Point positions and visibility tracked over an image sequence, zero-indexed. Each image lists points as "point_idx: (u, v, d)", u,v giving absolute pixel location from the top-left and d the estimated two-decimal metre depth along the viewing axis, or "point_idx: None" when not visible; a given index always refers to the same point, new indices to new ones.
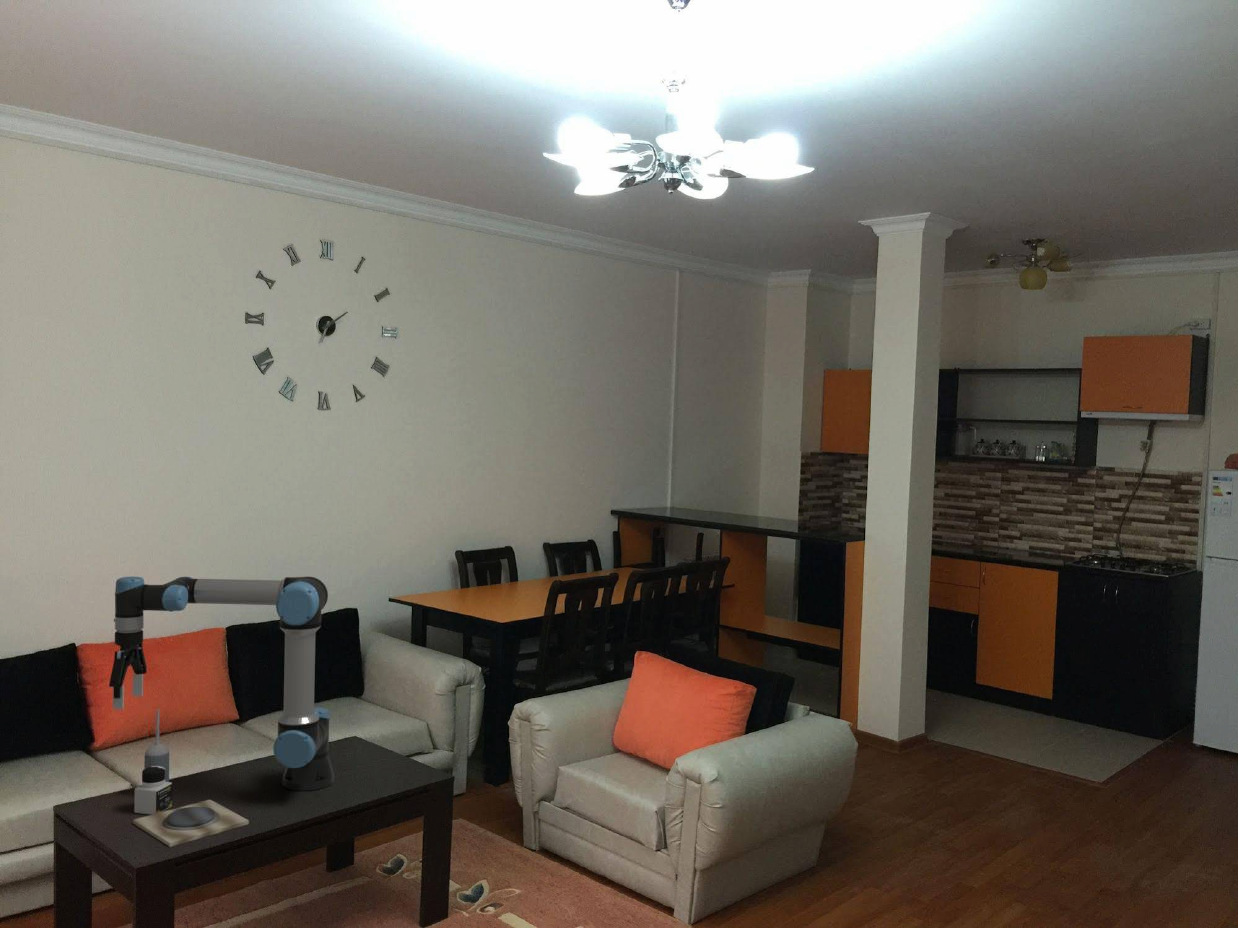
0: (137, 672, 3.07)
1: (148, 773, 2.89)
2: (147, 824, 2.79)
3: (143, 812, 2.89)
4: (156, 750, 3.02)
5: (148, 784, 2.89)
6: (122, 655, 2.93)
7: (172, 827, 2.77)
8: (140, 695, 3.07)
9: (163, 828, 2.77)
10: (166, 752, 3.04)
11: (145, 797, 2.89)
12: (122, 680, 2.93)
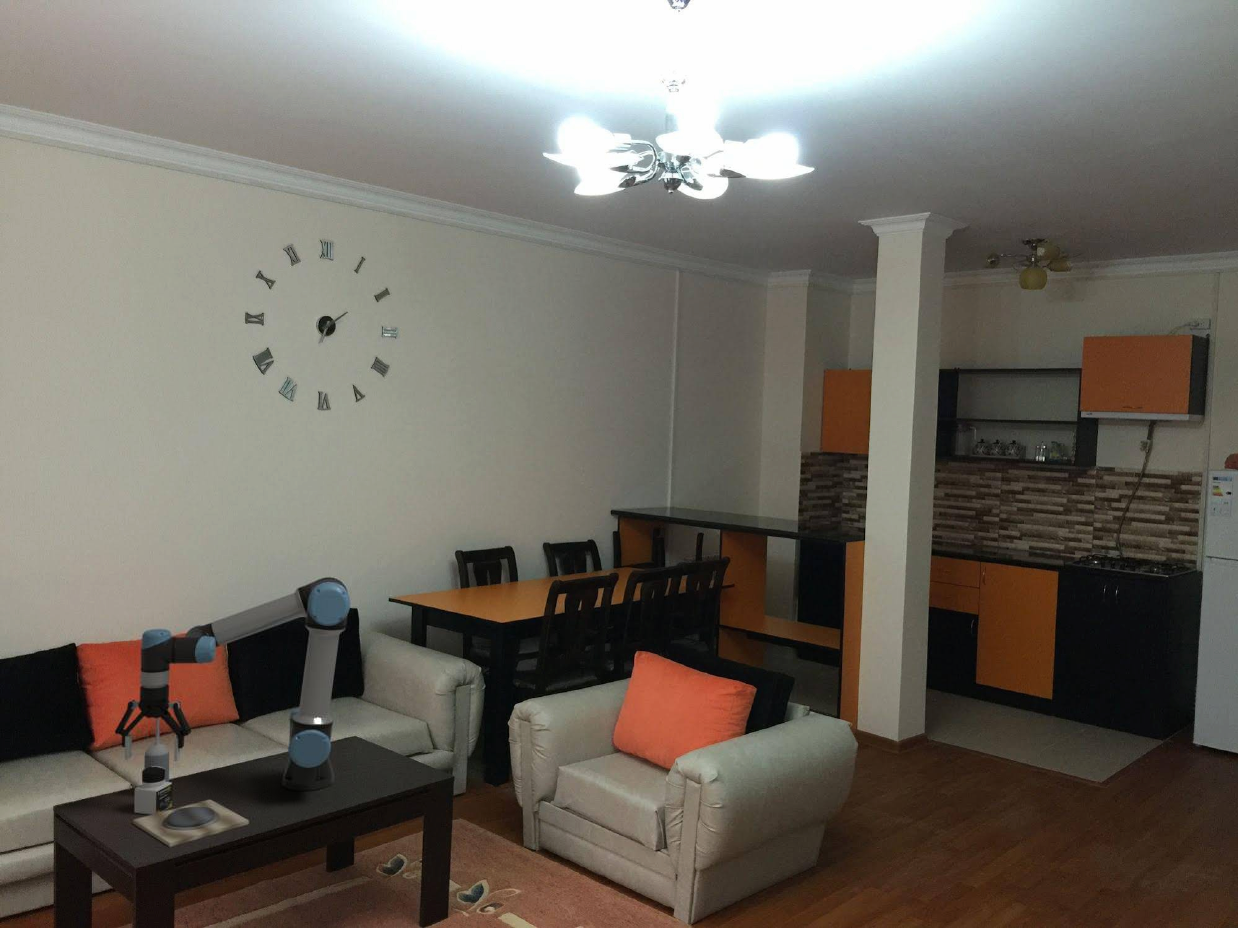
0: None
1: (148, 773, 2.89)
2: (147, 824, 2.79)
3: (143, 812, 2.89)
4: (156, 750, 3.02)
5: (148, 784, 2.89)
6: (128, 705, 2.90)
7: (172, 827, 2.77)
8: None
9: (163, 828, 2.77)
10: (166, 752, 3.04)
11: (145, 797, 2.89)
12: (126, 730, 2.90)
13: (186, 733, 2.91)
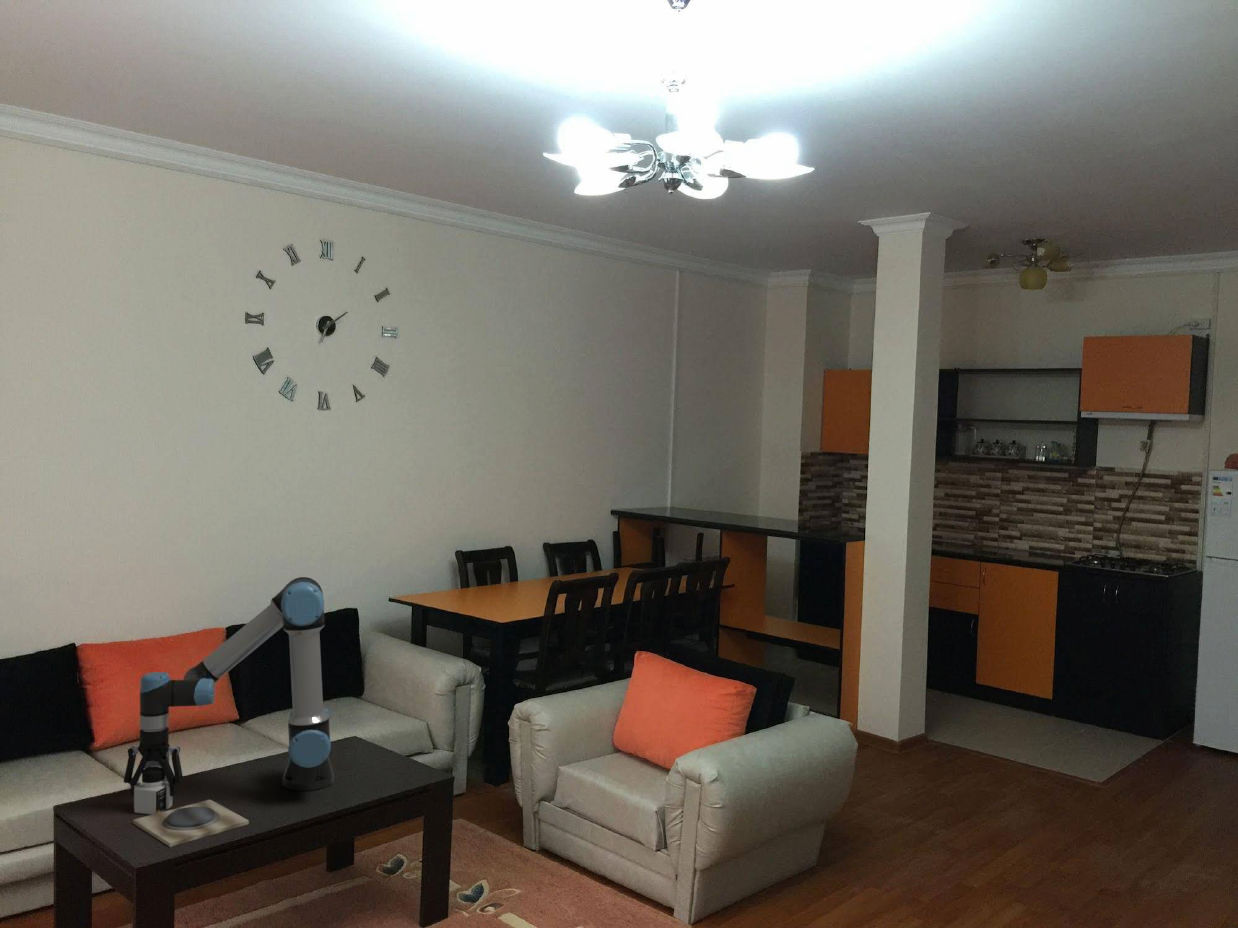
0: None
1: (148, 773, 2.89)
2: (147, 824, 2.79)
3: (143, 812, 2.89)
4: None
5: (148, 784, 2.89)
6: None
7: (172, 827, 2.77)
8: None
9: (163, 828, 2.77)
10: None
11: (145, 797, 2.89)
12: (133, 779, 2.91)
13: (178, 781, 2.91)
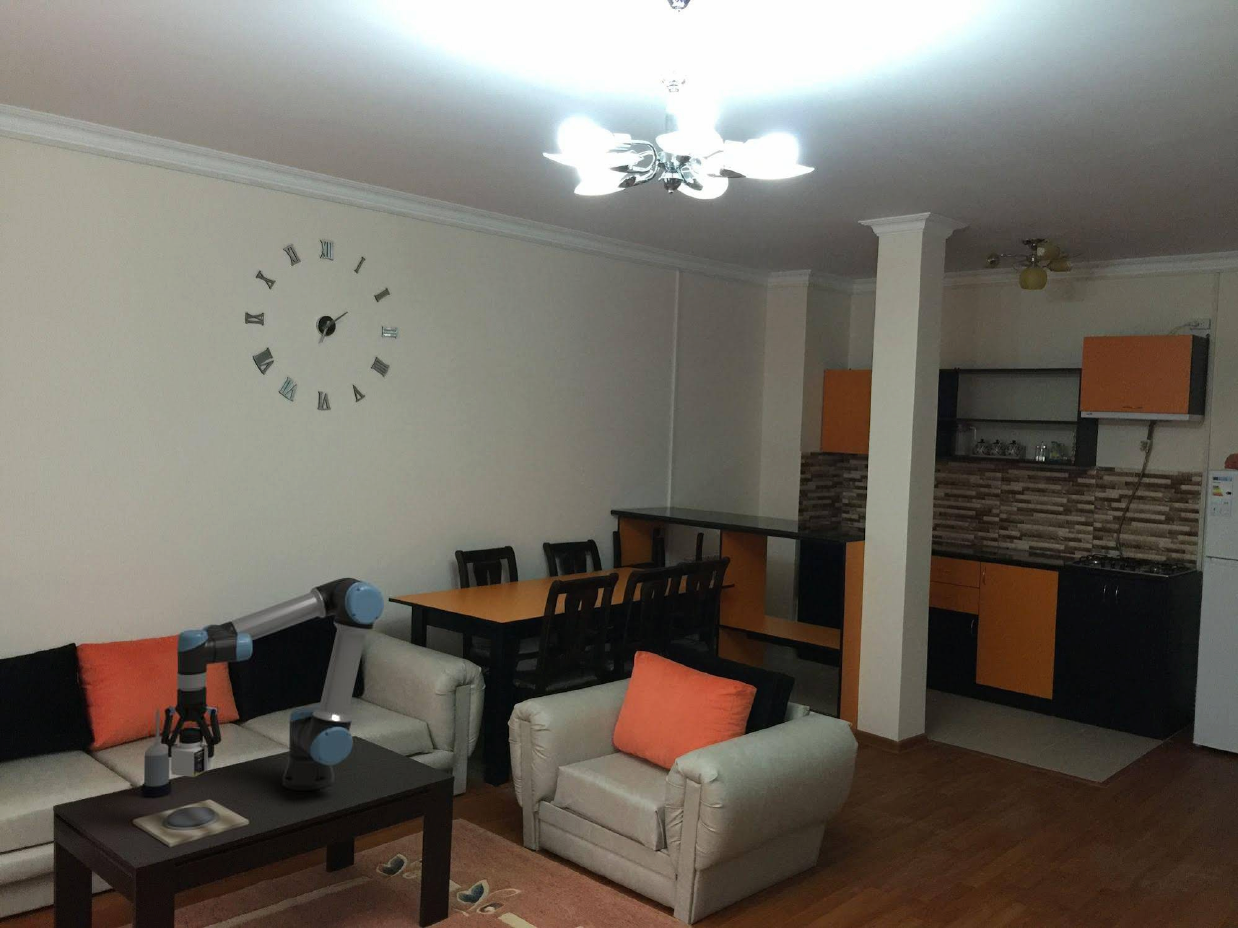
0: None
1: (185, 733, 2.80)
2: (147, 824, 2.79)
3: (181, 774, 2.80)
4: (156, 750, 3.02)
5: (185, 745, 2.80)
6: None
7: (172, 827, 2.77)
8: None
9: (163, 828, 2.77)
10: (166, 752, 3.04)
11: (182, 758, 2.79)
12: (171, 739, 2.81)
13: (216, 742, 2.82)
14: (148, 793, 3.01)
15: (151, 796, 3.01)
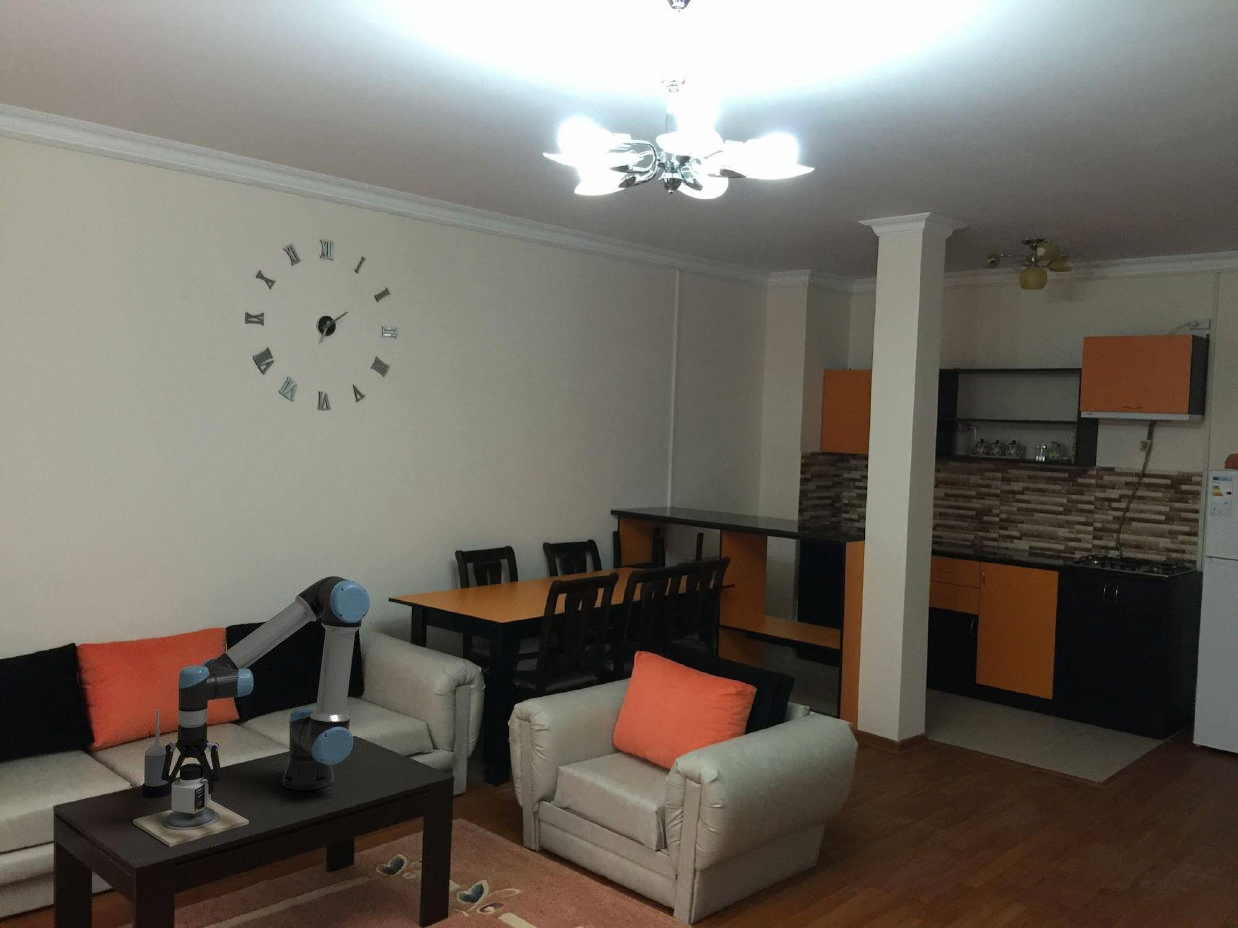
0: None
1: (186, 770, 2.80)
2: (147, 824, 2.79)
3: (181, 810, 2.80)
4: (156, 750, 3.02)
5: (186, 782, 2.80)
6: (166, 749, 2.81)
7: (172, 827, 2.77)
8: None
9: (163, 828, 2.77)
10: None
11: (183, 795, 2.79)
12: (171, 776, 2.81)
13: (217, 778, 2.82)
14: (148, 793, 3.01)
15: (151, 796, 3.01)
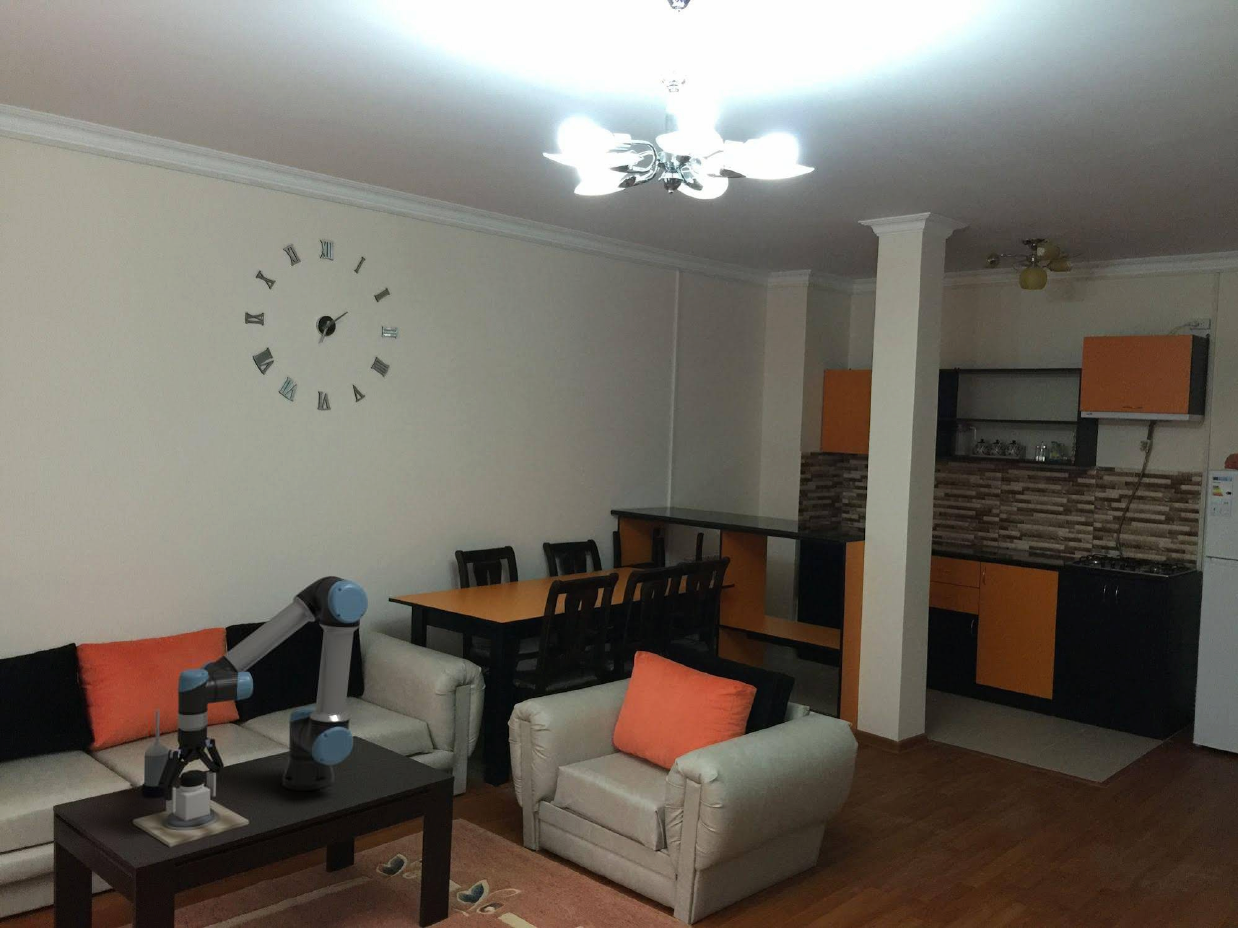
0: (211, 770, 2.89)
1: (198, 776, 2.81)
2: (147, 824, 2.79)
3: (196, 817, 2.81)
4: (156, 750, 3.02)
5: (198, 787, 2.81)
6: (174, 755, 2.76)
7: (172, 827, 2.77)
8: (212, 795, 2.88)
9: (163, 828, 2.77)
10: (166, 752, 3.04)
11: (198, 800, 2.81)
12: (173, 781, 2.76)
13: (222, 765, 2.91)
14: (148, 793, 3.01)
15: (151, 796, 3.01)
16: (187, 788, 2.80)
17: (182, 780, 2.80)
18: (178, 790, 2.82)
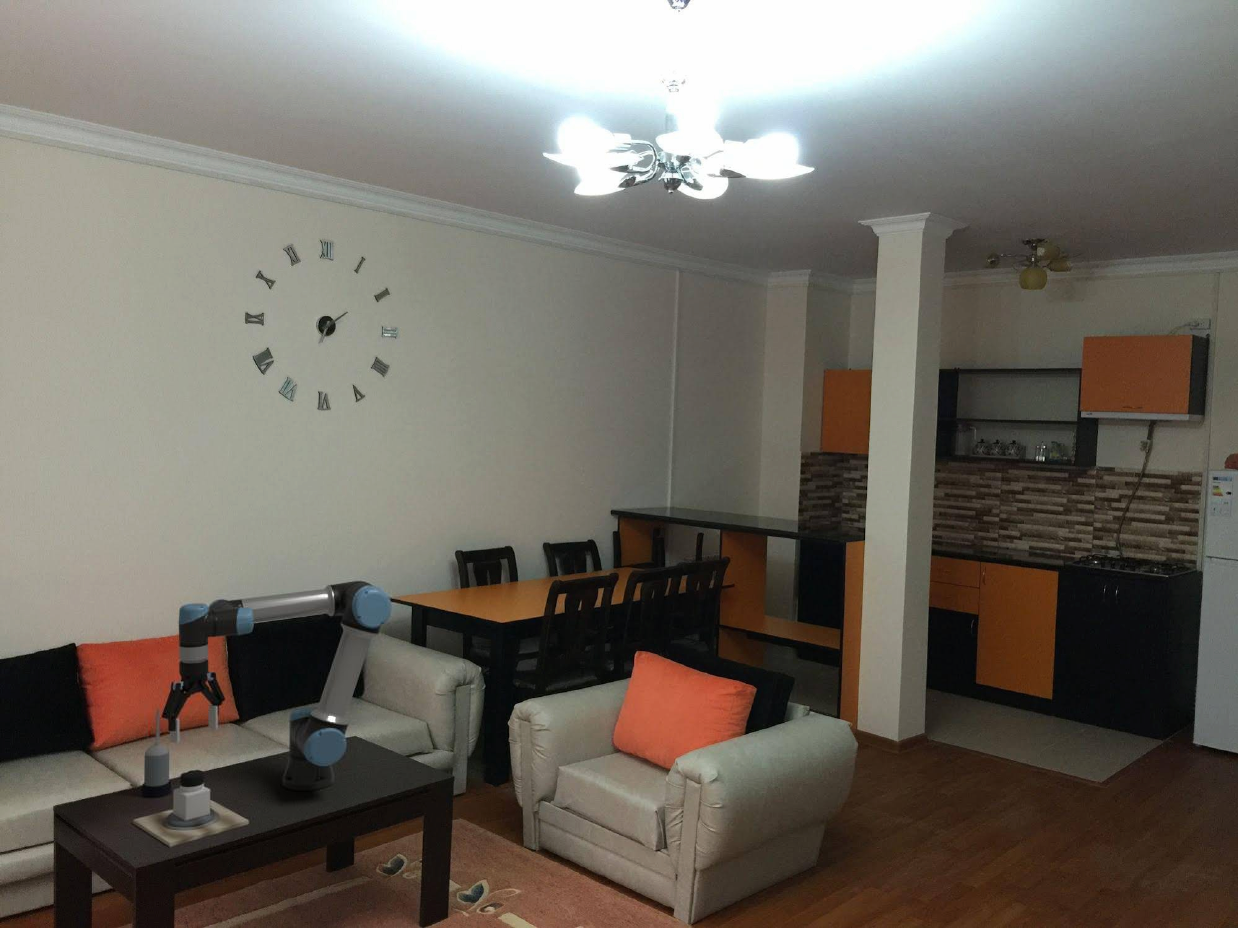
0: (213, 703, 2.93)
1: (198, 776, 2.81)
2: (147, 824, 2.79)
3: (196, 817, 2.81)
4: (156, 750, 3.02)
5: (198, 787, 2.81)
6: (177, 686, 2.80)
7: (172, 827, 2.77)
8: (214, 728, 2.92)
9: (163, 828, 2.77)
10: (166, 752, 3.04)
11: (198, 800, 2.81)
12: (177, 713, 2.80)
13: (223, 699, 2.95)
14: (148, 793, 3.01)
15: (151, 796, 3.01)
16: (187, 788, 2.80)
17: (182, 780, 2.80)
18: (178, 790, 2.82)
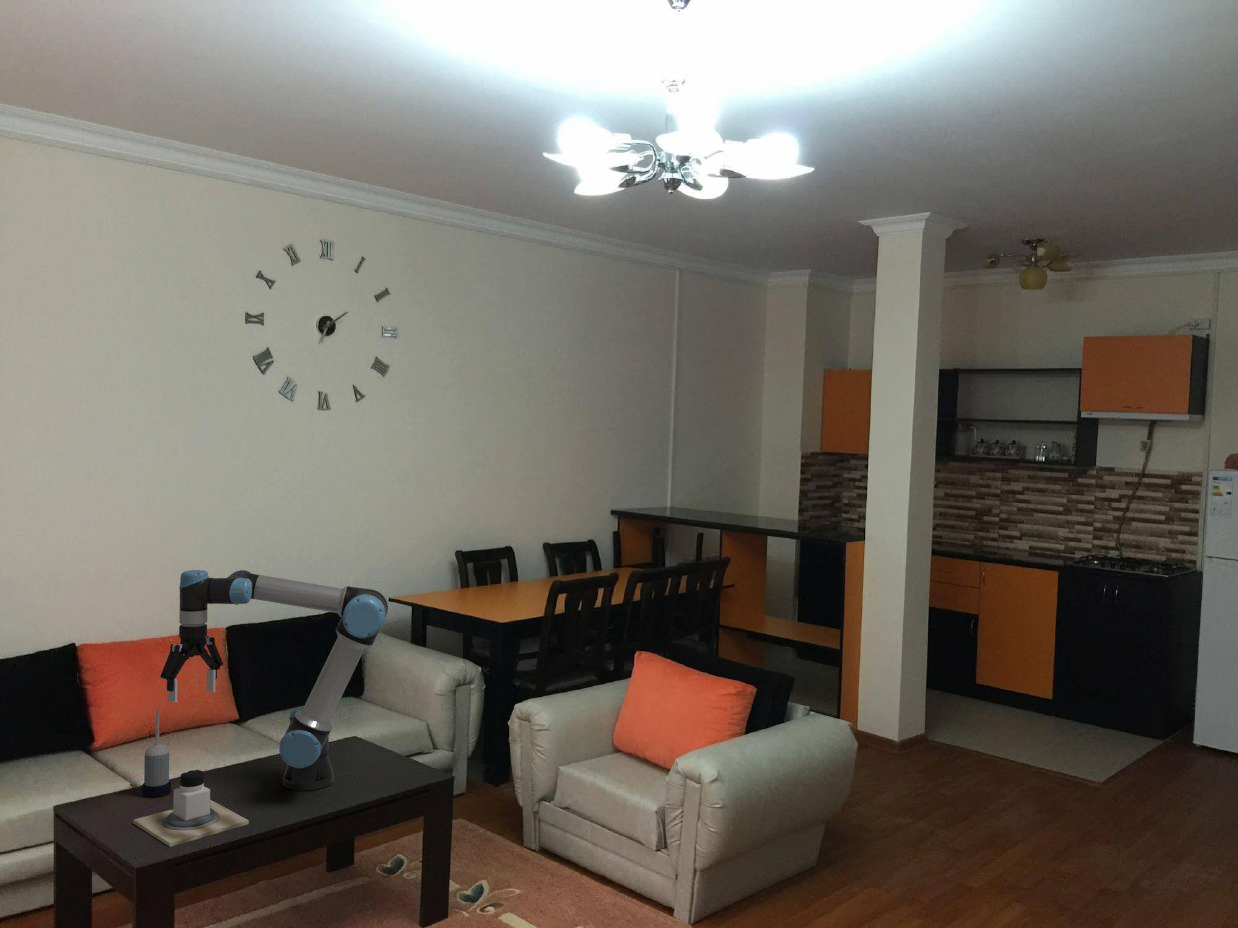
0: (211, 667, 3.05)
1: (198, 776, 2.81)
2: (147, 824, 2.79)
3: (196, 817, 2.81)
4: (156, 750, 3.02)
5: (198, 787, 2.81)
6: (175, 648, 2.92)
7: (172, 827, 2.77)
8: (212, 691, 3.04)
9: (163, 828, 2.77)
10: (166, 752, 3.04)
11: (198, 800, 2.81)
12: (175, 673, 2.92)
13: (221, 663, 3.06)
14: (148, 793, 3.01)
15: (151, 796, 3.01)
16: (187, 788, 2.80)
17: (182, 780, 2.80)
18: (178, 790, 2.82)
